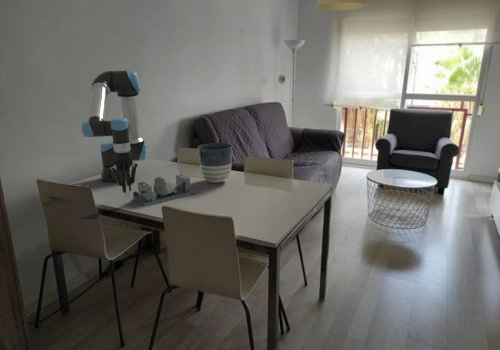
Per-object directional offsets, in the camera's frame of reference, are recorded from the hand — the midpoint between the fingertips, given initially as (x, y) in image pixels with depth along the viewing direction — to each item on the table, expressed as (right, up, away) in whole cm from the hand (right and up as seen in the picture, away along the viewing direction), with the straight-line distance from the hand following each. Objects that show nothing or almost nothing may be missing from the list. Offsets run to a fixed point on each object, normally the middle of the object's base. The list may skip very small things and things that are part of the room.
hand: (127, 198), depth 183 cm
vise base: (+15, 0, +13) cm, 20 cm away
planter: (+40, +7, +37) cm, 55 cm away
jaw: (+5, -1, +5) cm, 7 cm away
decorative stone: (+16, +2, +14) cm, 21 cm away
